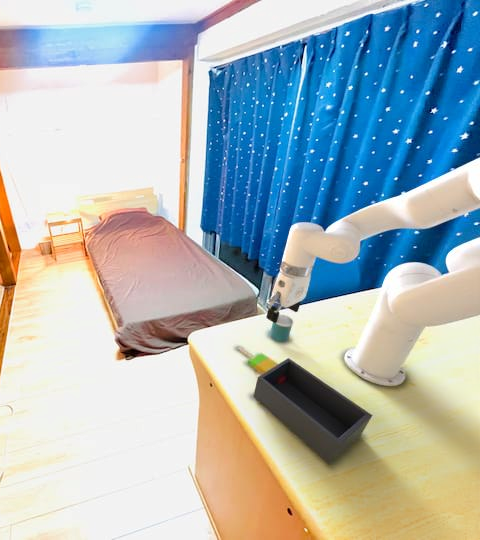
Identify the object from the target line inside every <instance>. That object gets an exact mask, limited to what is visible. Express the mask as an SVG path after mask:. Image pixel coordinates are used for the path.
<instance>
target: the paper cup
mask: <svg viewBox="0 0 480 540" xmlns="http://www.w3.org/2000/svg"><path fill="white" fill-rule="evenodd" d="M293 324H294V320H293V318H292V317H290V316H288V315H286V314H280V313H279V317H278V320H277V323H274V322H272V323H271V327H270V328H271V329H270V331H269V336H270V338H271V339H272V340H273V341H274V342H277V343H287V342H288V340H289V338H290V334H291V331H292V327H293Z"/></svg>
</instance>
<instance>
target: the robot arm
mask: <svg viewBox="0 0 480 540" xmlns="http://www.w3.org/2000/svg"><path fill="white" fill-rule="evenodd" d="M479 209H480V157H478V158H476V159H474V160H472V161H469V162H467V163H466V164H463V165H461V166H459V167H457V168H455V169H452V170H451V171H449V172H447V173H445V174H442V175H441V176H439V177H436V178H434V179H432V180H430V181H428V182H426V183H424V184H421V185H420V186H417V187H416V188H413V189H411V190H409V191H407V192H405V193H402V194H400V195H397V196H394V197H391V198H388V199H385V200H381V201H379V202H377V203H373V204H371V205H368V206H366V207H363V208H361V209H359V210H357V211H354V212H353V213H350V214H349V215H346V216H344V217H343V218H341V219H338V220H337V221H335V222H333V223H332V224H331V225H329V226H328V227H327V228H326V229H325V230H324V228H323V226H321V225H319V224H317V223H313V222H308V221H307V222H306V221H305V222H302V221H301V222H296V223H294V224H293V225H291V227H290V229H289V233H288V236H287V239H286V244H285V247H284V251H283V255H282V258H281V262H280V266H279V273H278V275H277V277H276V281H275V283H274V285H273V289H272V292H271V297H269V299H268V300H267V301H266V308H267V313H266V319H267V320H269V321H270V322H272V323H273V322H274V323H277V320H278V317H279V314H280V311H281V309H282V308H285V309H286V308H287V309H289V310H290V311H292V312H295V313H298V312H299V310H300V306H301V304H302V303H301V302H302V301H303V300H304V299H306V297H307V294H308V290H309V287H310V282H311V277H312V271H313V268H314V266H315V262H316V259H317V258H319V259H321V260H324V261H327V262H330V263H333V264H334V263H335V264H347V263H350V262H352V261H354V260H355V259H357V257H358V256H359V254H360V251H361V242H362V241H363V240H366V239H368V238H371V237H373V236H376V235H378V234H381V233H384V232H387V231H392V230H397V229H410V230H411V229H412V230H425V229H431V228H433V227H436V226H438V225H441V224H443V223H445V222H448V221H450V220H453V219H456V218H458V217H461V216H463V215H466V214H468V213H471V212H474V211H476V210H479ZM445 264H446V268H447V270H448V272H447V273H445V274H442V273H441V272H440V271H439V270H438V269H437V268H435V266H432V265H429V264H427V263H424V262H416V261H413V262H406V263H405V262H404V263H401V264H399V265H397V266H395V267H394V268H392V269H391V270H390V271H388V273H387V274H386V276H385V277H384V279H383V283H382V285H381V288H380V291H379V294H378V298H377V300H376V303H375V304H374V308H373V310H372V312H371V314H370V316H369V318H368V320H367V323H366V325H365V328H364V329H363V331H362V334H361V336H360V338H359V340H358V343H357V345H356V346H355V347H353V348H350V349H348V350H347V351H346V353H345V354H344V362H345V364H346V366H347V367H348V368H349V369H350V370H351V371H352V372H354V373H355V374H356V375H357V376H359V377H360V378H361V379H364V380H366V381H368V382H371V383H373V384H377V385H379V386H384V387H394V386H399V385H401V384H403V382H404V381H405V379H406V372H405V370H404V369H403V365H404V364H405V362H406V360H407V358H408V357H409V355H410V354H411V352H412V350H413V348H414V347H415V345H416V343H417V341H418V340H419V339H420V336H421V335H422V334H423V332H424V330H425V328H430V327H438V326H442V325H443V326H444V325H447V324H452V323H455V322H459V321H463V320H466V319H471V318H474V317H478V316H480V236H479V237H477V238H474V239H471V240H469V241H467V242H464V243H462V244H460V245H457V246H456V247H454V248H452V250H450V251H449V252H448V254H447V255H446V258H445ZM278 300H279V301H278ZM275 304H277V307H276V306H275Z"/></svg>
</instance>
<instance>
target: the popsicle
mask: <svg viewBox="0 0 480 540" xmlns="http://www.w3.org/2000/svg"><path fill="white" fill-rule="evenodd" d="M237 350H239V351H240V352H241V353H243V354H245V355H246V357H248V358H250V359H248V361H247V365H249V366H250V367H251V368H253V369H254V370H255V371H257V372H258V373H260V375H262V374H263V373H265V372H267V371H268V370H270V369H271V368H273V367H275V366H276V365H278V364H279V363H277V362H276V361H274V360H272V359H271V358H270V357H268V356H267V355H265V354H263V352H262V353H261V352H260V353H257V355H255V356H254V355H252V354H251V353H250V352H249V351H247V350H245V349H244V348H242V347H241V346H238V347H237ZM284 380H285V376H284V377H283V378H281V379H280V380H279V381H278V383H281V382H283V381H284Z"/></svg>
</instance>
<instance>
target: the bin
mask: <svg viewBox="0 0 480 540" xmlns="http://www.w3.org/2000/svg"><path fill="white" fill-rule="evenodd" d="M277 364H278V365H276V366H275V367H273V368H271V369H270V370H268V371H267V372H265V373H263V374H260V375H258V376H257V379H256V382H255V383H256V384H255V387H254V392H253V395H252V397H253V398H254V399H255V400H256V401H257V402H258V403H259V404H260V405H262V407H264V408H265V409H266V410H267V411H268V412H269V413H271V415H273V416H274V417H275V418H276V419H277V420H279V422H281V424H283V426H285V427H286V428H287V429H288V430H289V431H291V432H292V433H293V434H294V435H295V436H296V437H297V438H298V439H300V441H302V442H303V443H304V444H305V445H306V446H307V447H308V448H309V449H311V450H312V451H313V452H314V453H315V454H316V455H317V456H318V457H320V459H322V460H323V461H324V462H325V463H326V464H327V465H331V464H332V463H333V462H334V461H335V460H337V459H338V458H339V457H340V456H341V455H342V454H343V453H344V452H345V451H346V450H348V448H350V447H351V446H352V445H353V444H354V443H355V442H356V441H357V440H358V439H359V438H360V437H361V436H362V435H363V433H364V432H365V429H366V428H367V426H368V424H369V423H370V421H371V419H372V417H373V414H371V413H370V412H368V411H367V410H366V409H364V408H363V407H361V406H360V405H358V404H357V403H355V402H354V401H352V400H351V399H350V398H348V397H347V396H345V395H343V394H342V393H341V392H339V391H338V390H337V389H335V388H333V387H332V386H331V385H329V384H327V383H326V382H325V381H323V380H322V379H320V378H319V377H317V376H316V375H315V374H313V373H311V372H310V371H309V370H307V369H305V368H304V367H302V366H301V364H298V363H297V362H295V361H294V360H292V359H291V358H289V357H287V358H286V359H284V360H283V361H281V362H280V363H277ZM284 376H285V380H284V381H283V382H281V383H278V381H279V380H280V379H281V378H283V377H284Z"/></svg>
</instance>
